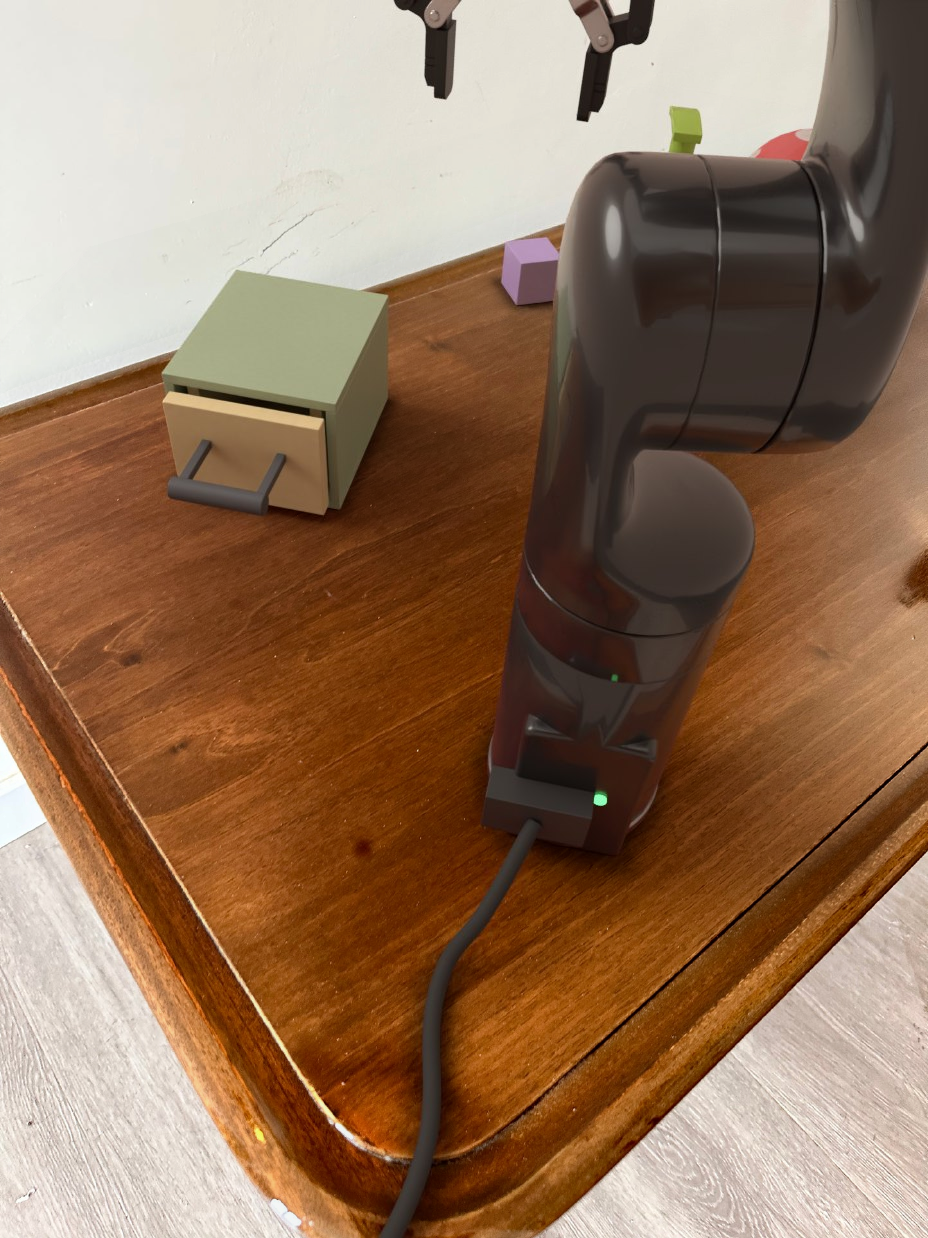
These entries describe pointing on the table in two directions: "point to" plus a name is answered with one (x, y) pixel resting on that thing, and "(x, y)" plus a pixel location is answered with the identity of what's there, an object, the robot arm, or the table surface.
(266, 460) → the drawer
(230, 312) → the cabinet
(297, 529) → the table surface
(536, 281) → the lilac toy cube
